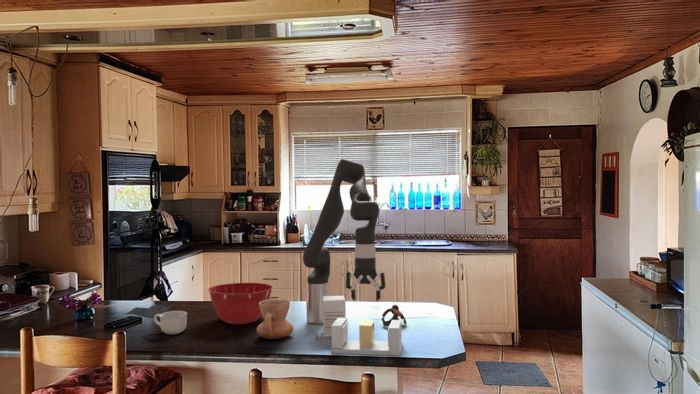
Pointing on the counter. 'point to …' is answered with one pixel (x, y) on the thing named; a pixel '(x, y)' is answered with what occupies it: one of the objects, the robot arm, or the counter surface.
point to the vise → (377, 343)
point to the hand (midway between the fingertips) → (365, 300)
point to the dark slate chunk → (149, 311)
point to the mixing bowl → (239, 301)
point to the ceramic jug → (274, 319)
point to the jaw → (337, 333)
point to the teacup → (172, 321)
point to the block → (366, 334)
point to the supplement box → (332, 312)
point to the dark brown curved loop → (395, 315)
